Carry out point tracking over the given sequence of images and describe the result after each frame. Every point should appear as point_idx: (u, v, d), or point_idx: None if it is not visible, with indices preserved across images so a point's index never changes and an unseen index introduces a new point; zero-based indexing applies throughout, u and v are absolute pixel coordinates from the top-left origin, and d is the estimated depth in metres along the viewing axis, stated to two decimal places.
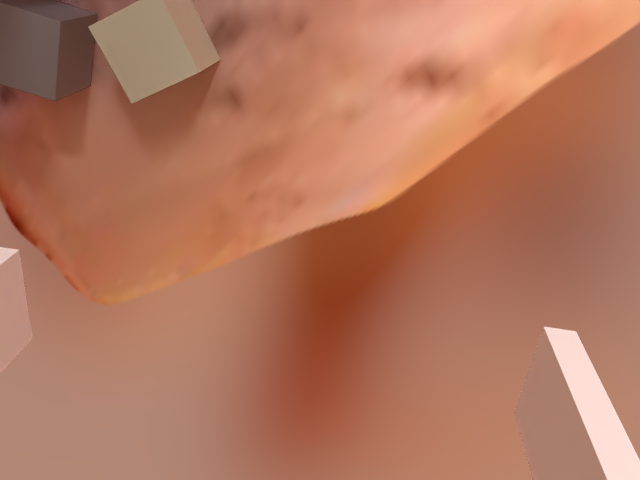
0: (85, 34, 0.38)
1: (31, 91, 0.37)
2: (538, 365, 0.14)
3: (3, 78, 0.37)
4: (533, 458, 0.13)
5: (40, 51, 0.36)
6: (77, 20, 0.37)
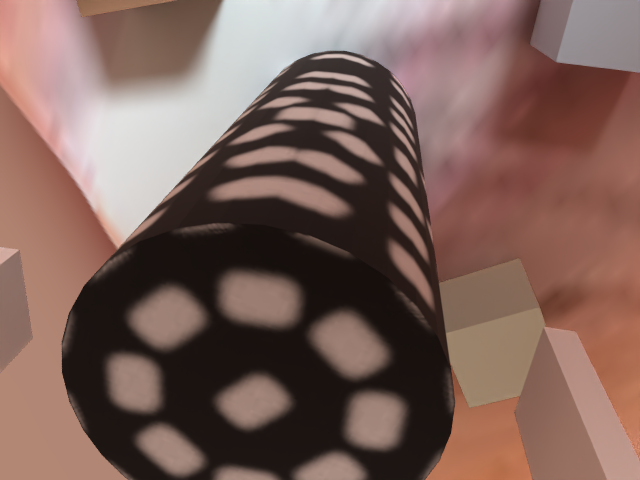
0: None
1: None
2: (538, 364, 0.14)
3: None
4: (533, 458, 0.13)
5: None
6: None
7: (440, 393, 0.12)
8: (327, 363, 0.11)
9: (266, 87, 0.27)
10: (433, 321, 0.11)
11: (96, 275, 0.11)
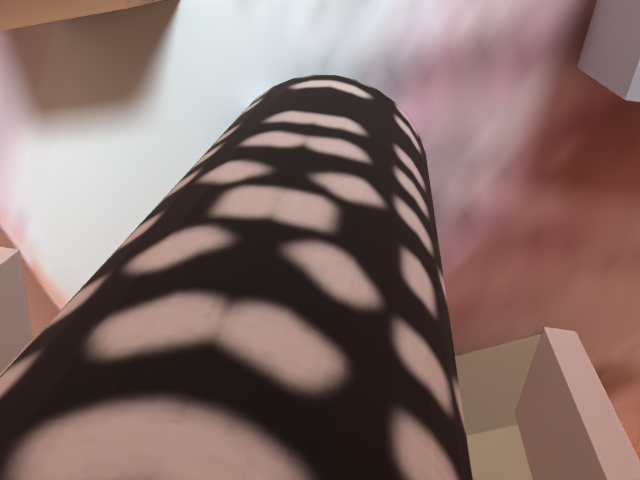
0: None
1: None
2: (538, 365, 0.14)
3: None
4: (533, 458, 0.13)
5: None
6: None
7: None
8: None
9: None
10: None
11: None
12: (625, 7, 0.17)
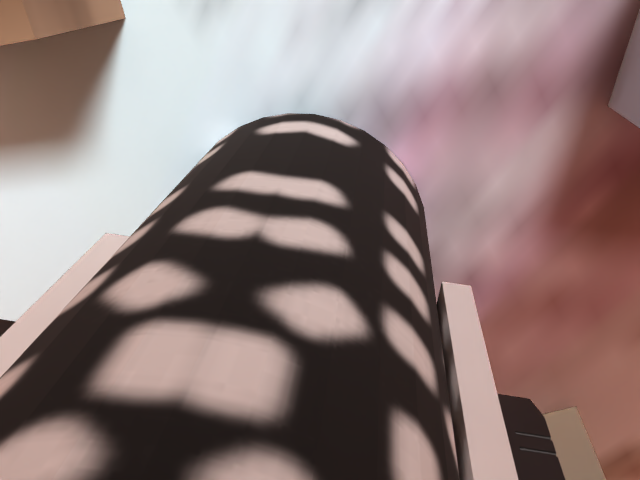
0: None
1: None
2: None
3: None
4: None
5: None
6: None
7: None
8: None
9: (187, 174, 0.17)
10: None
11: None
12: None
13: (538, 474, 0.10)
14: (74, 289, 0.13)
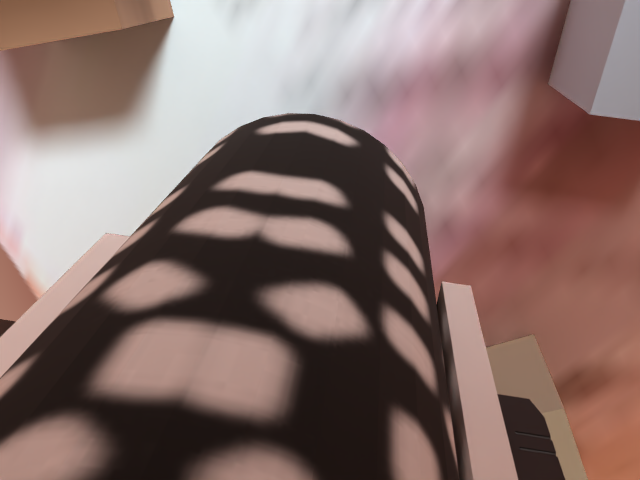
0: None
1: None
2: None
3: None
4: None
5: None
6: None
7: None
8: None
9: None
10: None
11: None
12: (589, 28, 0.18)
13: (538, 474, 0.10)
14: (74, 289, 0.13)
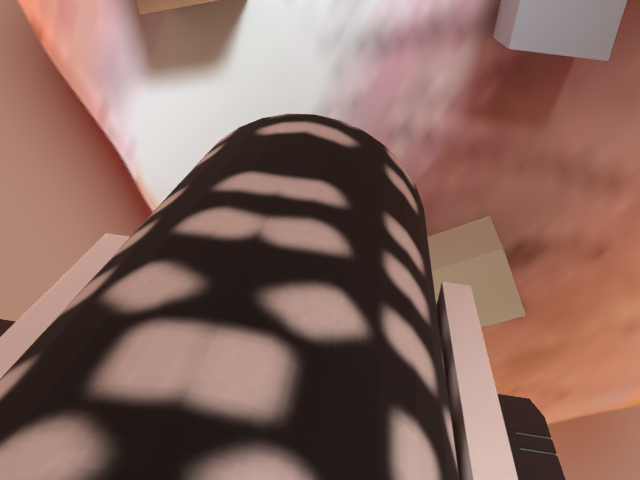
0: None
1: None
2: None
3: None
4: None
5: None
6: None
7: None
8: None
9: None
10: None
11: None
12: None
13: (537, 474, 0.10)
14: (74, 289, 0.13)
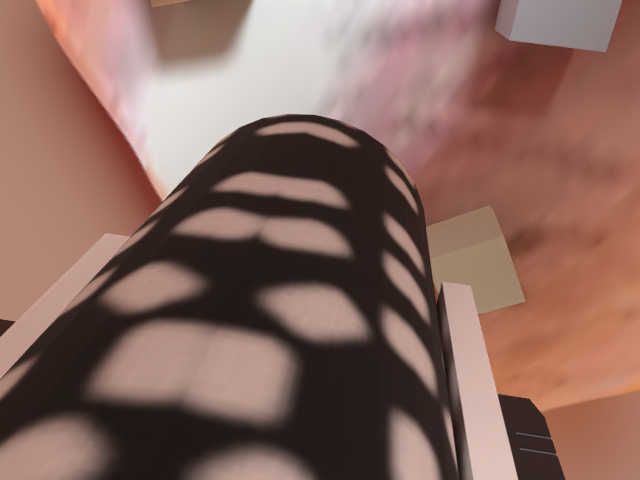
0: None
1: None
2: None
3: None
4: None
5: None
6: None
7: None
8: None
9: None
10: None
11: None
12: None
13: (538, 474, 0.10)
14: (74, 289, 0.13)
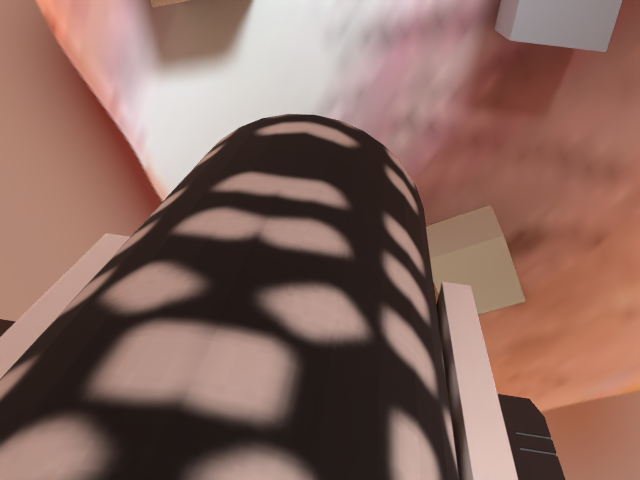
0: None
1: None
2: None
3: None
4: None
5: None
6: None
7: None
8: None
9: None
10: None
11: None
12: None
13: (538, 474, 0.10)
14: (74, 289, 0.13)
